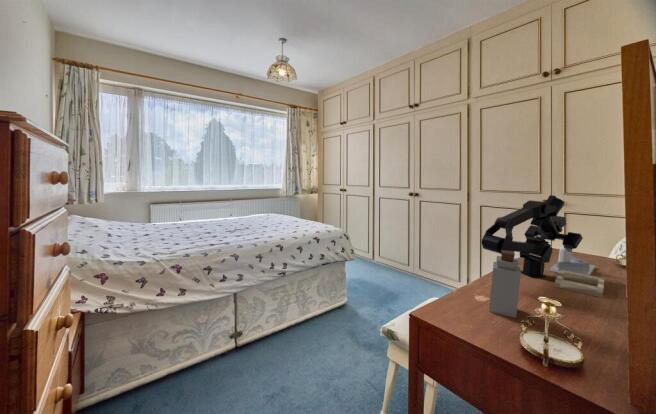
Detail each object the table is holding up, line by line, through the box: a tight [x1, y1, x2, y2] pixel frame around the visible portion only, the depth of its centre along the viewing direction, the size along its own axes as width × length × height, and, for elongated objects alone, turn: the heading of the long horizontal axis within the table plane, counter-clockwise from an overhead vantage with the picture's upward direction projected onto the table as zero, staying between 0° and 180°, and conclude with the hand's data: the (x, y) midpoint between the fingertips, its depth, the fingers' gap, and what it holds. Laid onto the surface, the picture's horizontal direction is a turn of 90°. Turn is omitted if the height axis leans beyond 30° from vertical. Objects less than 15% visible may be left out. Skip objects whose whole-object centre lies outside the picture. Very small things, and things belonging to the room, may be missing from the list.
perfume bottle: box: [488, 250, 522, 319], centre depth 86 cm, size 7×7×18 cm
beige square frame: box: [554, 270, 605, 298], centre depth 106 cm, size 16×13×2 cm
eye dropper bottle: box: [557, 245, 572, 262], centre depth 124 cm, size 4×6×12 cm
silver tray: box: [549, 255, 596, 275], centre depth 123 cm, size 12×20×4 cm, turn 132°
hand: (558, 248), depth 122 cm, fingers open, 9 cm apart
